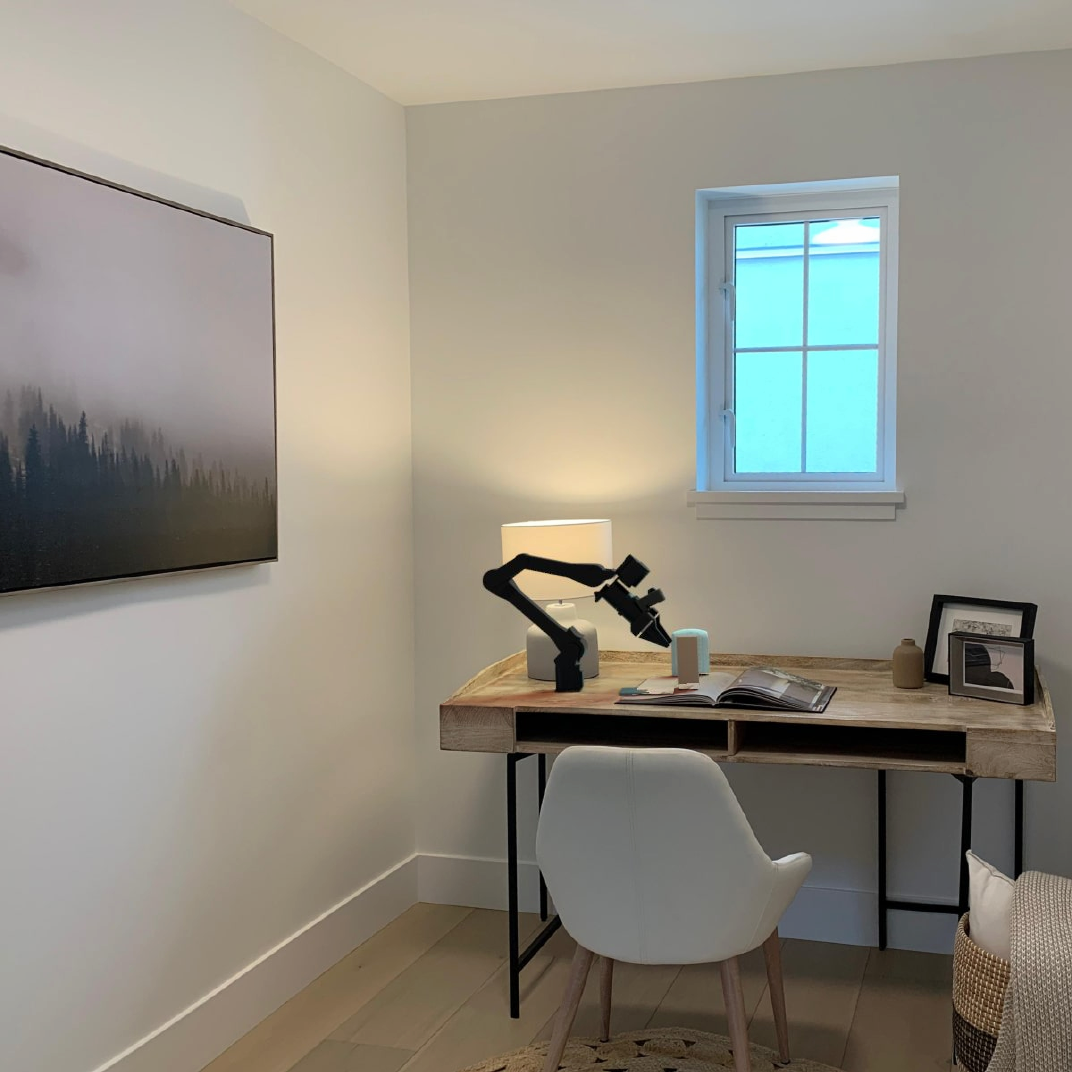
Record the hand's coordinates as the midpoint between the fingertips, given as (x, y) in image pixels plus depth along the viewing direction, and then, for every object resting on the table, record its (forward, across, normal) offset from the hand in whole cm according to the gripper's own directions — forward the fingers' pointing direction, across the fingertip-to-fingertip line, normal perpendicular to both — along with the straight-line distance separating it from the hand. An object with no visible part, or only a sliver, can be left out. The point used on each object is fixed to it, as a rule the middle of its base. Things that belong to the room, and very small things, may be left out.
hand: (669, 644), depth 295 cm
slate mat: (+4, -5, +12) cm, 13 cm away
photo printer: (+10, +23, +6) cm, 26 cm away
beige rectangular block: (+11, 0, +5) cm, 12 cm away
